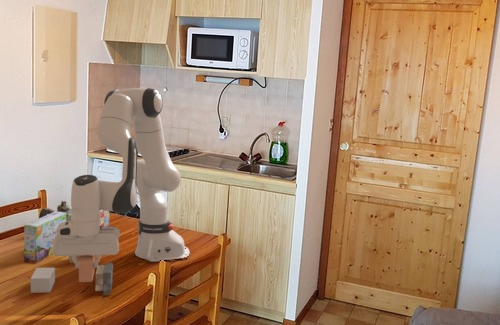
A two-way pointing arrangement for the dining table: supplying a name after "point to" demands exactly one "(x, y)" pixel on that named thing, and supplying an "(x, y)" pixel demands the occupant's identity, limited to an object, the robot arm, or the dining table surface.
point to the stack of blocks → (104, 217)
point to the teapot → (58, 210)
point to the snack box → (41, 236)
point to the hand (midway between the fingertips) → (86, 267)
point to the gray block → (42, 280)
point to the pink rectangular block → (86, 268)
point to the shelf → (104, 278)
